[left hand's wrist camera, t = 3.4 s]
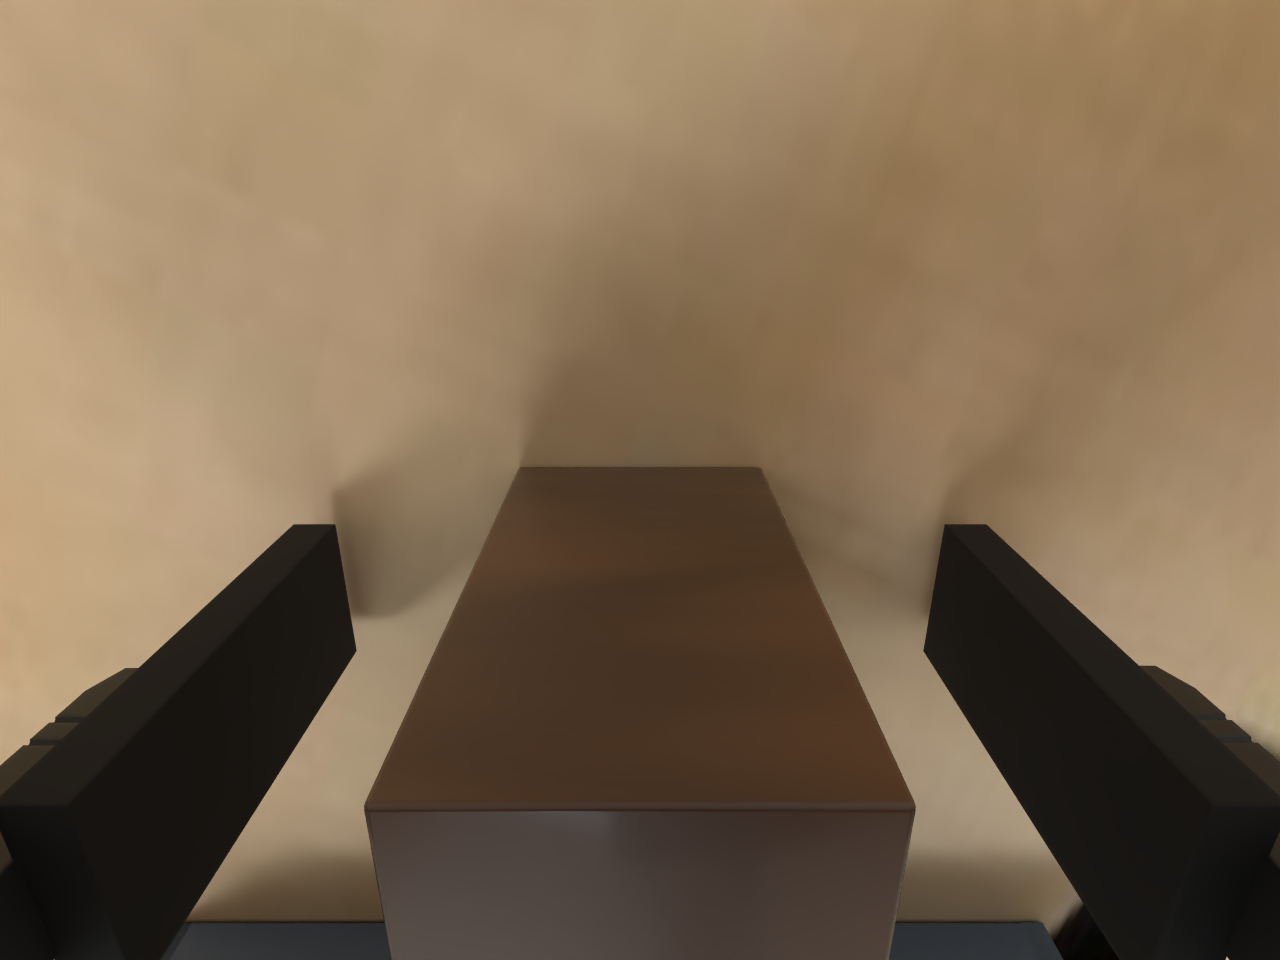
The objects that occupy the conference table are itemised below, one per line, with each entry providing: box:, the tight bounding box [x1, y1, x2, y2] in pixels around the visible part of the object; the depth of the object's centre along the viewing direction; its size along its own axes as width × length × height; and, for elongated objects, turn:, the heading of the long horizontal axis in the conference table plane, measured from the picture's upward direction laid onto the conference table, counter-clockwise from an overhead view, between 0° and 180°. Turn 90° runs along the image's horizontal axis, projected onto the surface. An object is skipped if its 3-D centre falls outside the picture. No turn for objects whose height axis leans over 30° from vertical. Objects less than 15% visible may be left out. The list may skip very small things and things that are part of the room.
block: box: [364, 468, 916, 960], centre depth 10 cm, size 4×4×8 cm
